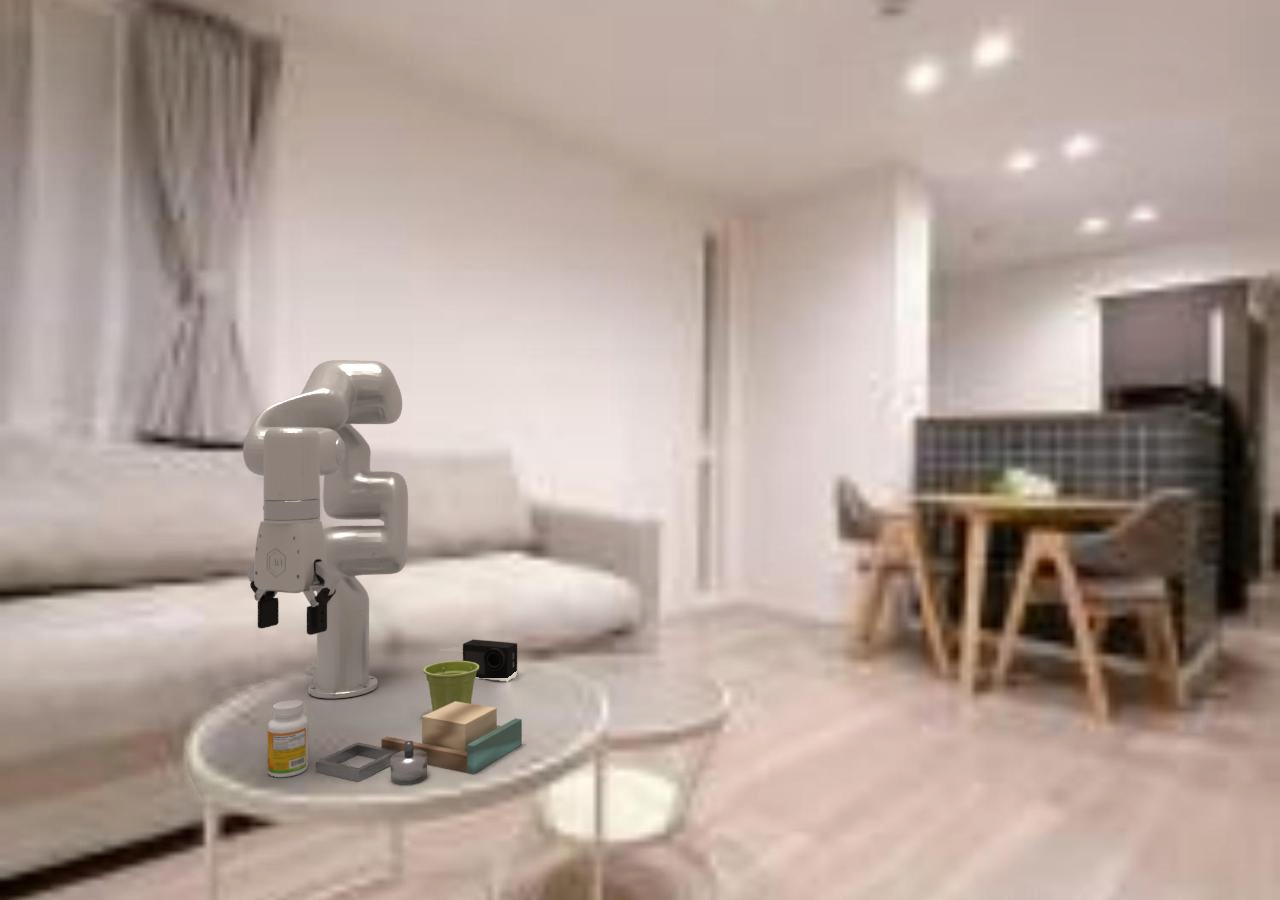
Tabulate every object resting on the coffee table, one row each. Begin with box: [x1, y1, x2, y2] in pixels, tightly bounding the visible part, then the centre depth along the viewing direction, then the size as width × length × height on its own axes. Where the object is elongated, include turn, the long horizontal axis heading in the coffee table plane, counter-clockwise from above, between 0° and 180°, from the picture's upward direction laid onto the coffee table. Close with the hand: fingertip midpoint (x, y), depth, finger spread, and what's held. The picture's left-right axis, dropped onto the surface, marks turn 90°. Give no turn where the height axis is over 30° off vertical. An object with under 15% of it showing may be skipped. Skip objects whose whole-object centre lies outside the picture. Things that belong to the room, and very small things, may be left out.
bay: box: [380, 701, 523, 775], centre depth 123 cm, size 17×12×6 cm
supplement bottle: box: [267, 699, 309, 778], centre depth 116 cm, size 5×5×10 cm
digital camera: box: [462, 639, 518, 678], centre depth 162 cm, size 10×5×7 cm, turn 71°
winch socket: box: [315, 740, 428, 786], centre depth 115 cm, size 16×8×5 cm, turn 65°
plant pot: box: [423, 660, 479, 712], centre depth 138 cm, size 9×9×9 cm
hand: (292, 629), depth 116 cm, fingers open, 9 cm apart
